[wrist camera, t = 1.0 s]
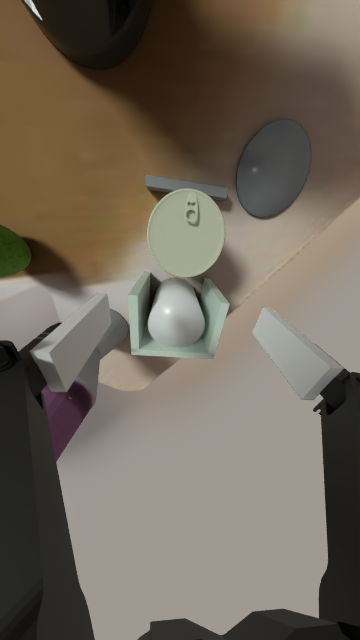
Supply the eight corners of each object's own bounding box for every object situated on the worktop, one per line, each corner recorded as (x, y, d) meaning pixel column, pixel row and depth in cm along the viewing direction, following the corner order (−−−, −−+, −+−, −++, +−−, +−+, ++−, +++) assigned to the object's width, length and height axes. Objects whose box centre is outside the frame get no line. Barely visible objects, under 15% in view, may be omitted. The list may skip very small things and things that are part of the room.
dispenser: (144, 179, 24) (118, 130, 12) (227, 192, 25) (272, 158, 14) (144, 316, 36) (131, 354, 24) (201, 320, 37) (213, 359, 25)
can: (212, 209, 26) (238, 194, 16) (201, 265, 30) (216, 283, 20) (157, 200, 25) (146, 178, 15) (155, 259, 30) (145, 274, 19)
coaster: (249, 114, 21) (251, 111, 20) (322, 129, 22) (326, 127, 21) (228, 212, 26) (229, 211, 26) (287, 220, 27) (289, 220, 27)
